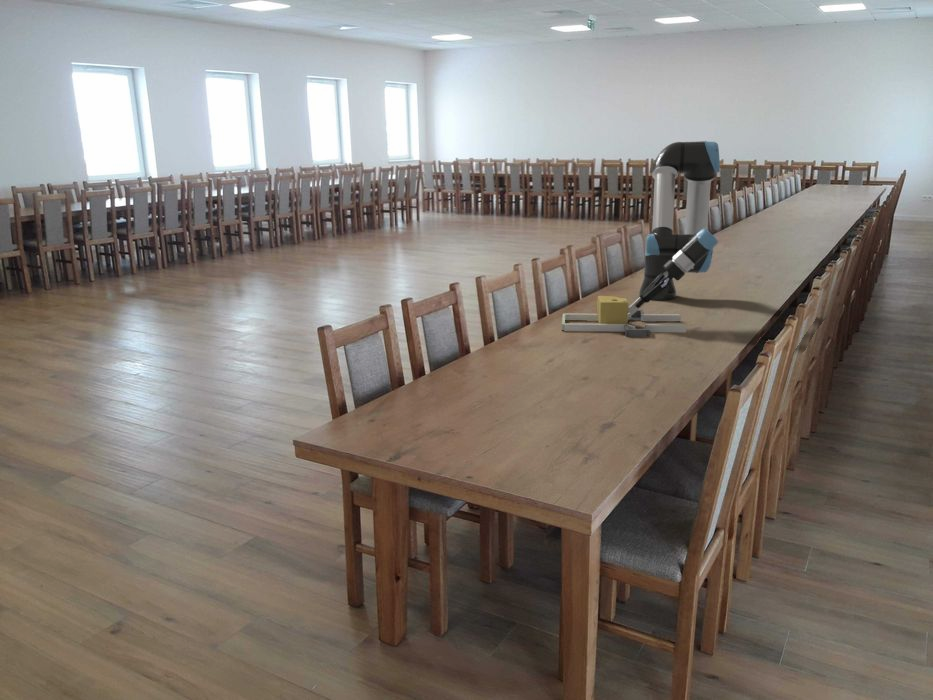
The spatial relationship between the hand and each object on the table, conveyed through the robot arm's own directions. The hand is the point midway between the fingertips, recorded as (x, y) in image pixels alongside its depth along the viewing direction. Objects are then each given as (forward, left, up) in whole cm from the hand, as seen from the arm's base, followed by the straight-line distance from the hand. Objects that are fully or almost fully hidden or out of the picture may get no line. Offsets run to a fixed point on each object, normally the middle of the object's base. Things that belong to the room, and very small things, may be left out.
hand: (629, 312), depth 273 cm
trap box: (+2, -3, -5) cm, 6 cm away
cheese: (+1, -6, -5) cm, 8 cm away
